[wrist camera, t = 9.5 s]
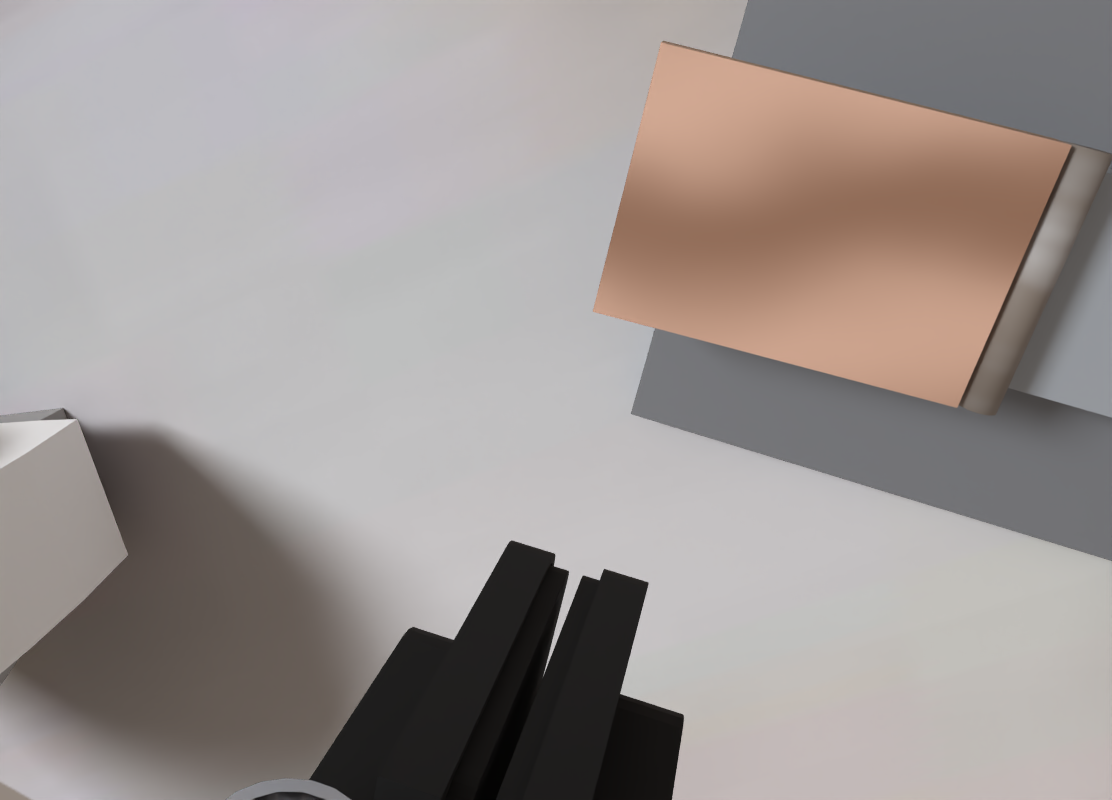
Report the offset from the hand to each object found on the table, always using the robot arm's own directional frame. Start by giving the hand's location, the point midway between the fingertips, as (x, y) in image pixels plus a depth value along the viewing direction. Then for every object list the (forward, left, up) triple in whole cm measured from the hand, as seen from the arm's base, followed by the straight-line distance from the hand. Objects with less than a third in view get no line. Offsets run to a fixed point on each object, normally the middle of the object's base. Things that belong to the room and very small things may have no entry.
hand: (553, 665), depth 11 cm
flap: (-3, +3, -16) cm, 17 cm away
